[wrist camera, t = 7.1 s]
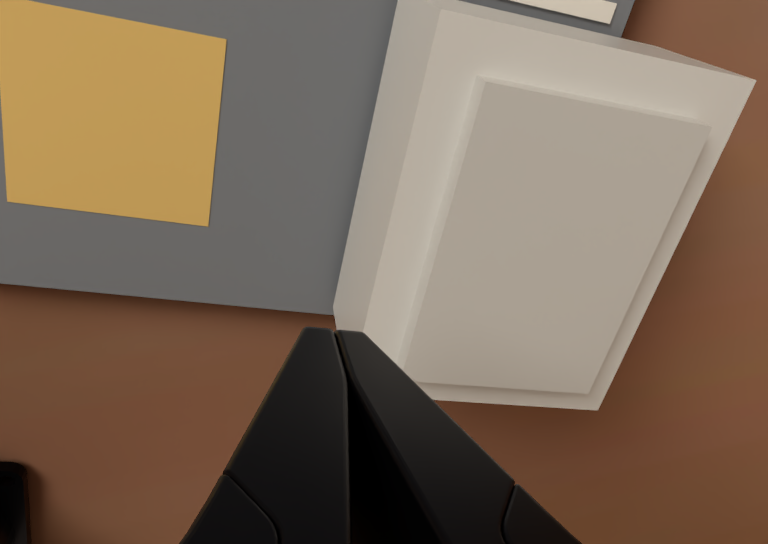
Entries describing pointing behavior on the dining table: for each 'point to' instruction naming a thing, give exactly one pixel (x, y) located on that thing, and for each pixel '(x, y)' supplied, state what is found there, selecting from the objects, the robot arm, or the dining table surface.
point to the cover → (523, 199)
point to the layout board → (197, 141)
